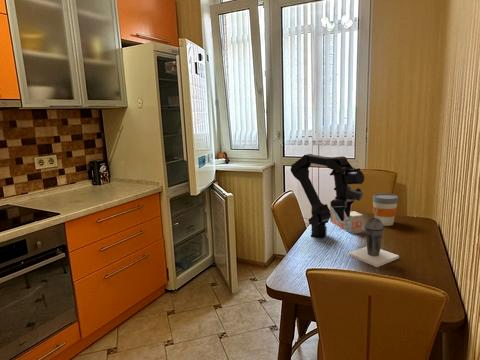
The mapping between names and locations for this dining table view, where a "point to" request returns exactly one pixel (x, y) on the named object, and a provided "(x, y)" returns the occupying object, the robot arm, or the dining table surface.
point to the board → (373, 257)
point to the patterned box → (347, 221)
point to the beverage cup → (374, 235)
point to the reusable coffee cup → (385, 207)
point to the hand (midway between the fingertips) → (345, 218)
